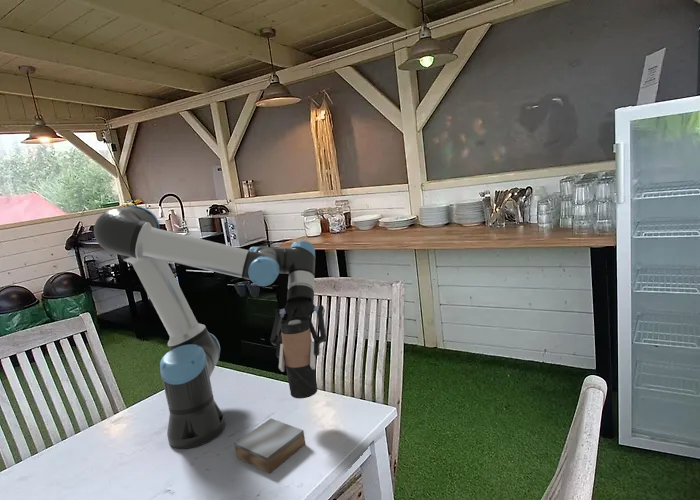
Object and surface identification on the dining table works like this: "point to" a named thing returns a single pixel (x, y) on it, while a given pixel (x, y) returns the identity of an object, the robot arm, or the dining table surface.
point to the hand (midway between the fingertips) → (297, 368)
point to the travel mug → (298, 356)
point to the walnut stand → (270, 445)
